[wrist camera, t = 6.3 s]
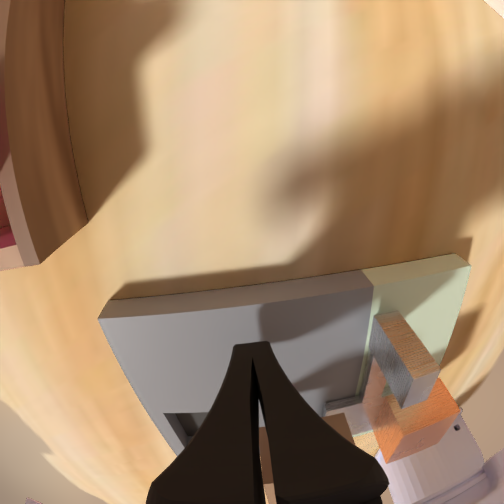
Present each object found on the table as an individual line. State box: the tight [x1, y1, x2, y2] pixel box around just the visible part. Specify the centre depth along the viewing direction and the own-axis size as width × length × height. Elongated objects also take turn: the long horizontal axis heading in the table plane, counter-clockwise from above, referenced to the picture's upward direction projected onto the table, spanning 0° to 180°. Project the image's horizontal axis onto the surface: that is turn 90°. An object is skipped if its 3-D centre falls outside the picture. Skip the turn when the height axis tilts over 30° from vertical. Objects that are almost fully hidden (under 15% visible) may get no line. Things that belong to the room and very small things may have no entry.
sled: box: [323, 310, 460, 464], centre depth 12 cm, size 8×10×4 cm
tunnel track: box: [98, 253, 471, 504], centre depth 13 cm, size 18×13×6 cm
